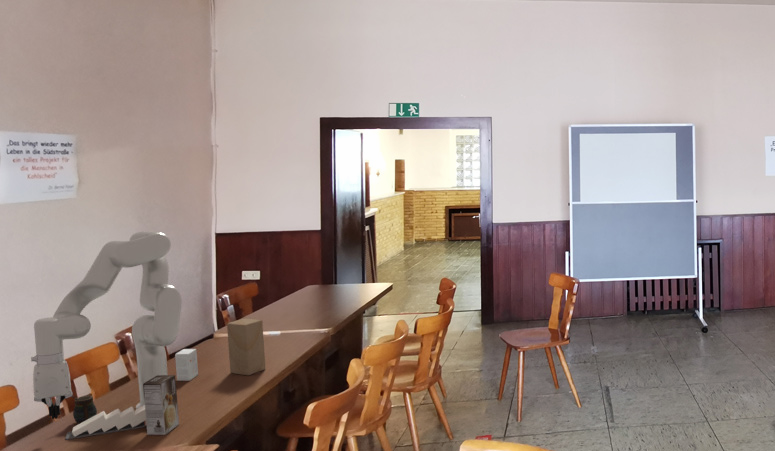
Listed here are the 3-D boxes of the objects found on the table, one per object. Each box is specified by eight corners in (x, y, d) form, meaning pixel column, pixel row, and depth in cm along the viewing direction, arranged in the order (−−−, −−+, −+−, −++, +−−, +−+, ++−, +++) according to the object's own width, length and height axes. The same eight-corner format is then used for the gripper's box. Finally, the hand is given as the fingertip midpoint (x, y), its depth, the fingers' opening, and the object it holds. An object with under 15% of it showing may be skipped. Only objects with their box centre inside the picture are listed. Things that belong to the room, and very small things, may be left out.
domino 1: (73, 427, 225) (103, 410, 227) (75, 431, 225) (106, 414, 228) (71, 432, 220) (103, 415, 223) (74, 436, 220) (105, 419, 223)
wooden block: (248, 375, 279) (244, 325, 278) (229, 373, 284) (226, 323, 283) (266, 369, 287) (262, 319, 286) (247, 366, 293) (244, 318, 291)
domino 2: (88, 424, 226) (118, 408, 229) (90, 429, 226) (120, 412, 229) (87, 430, 221) (118, 413, 224) (89, 434, 222) (120, 417, 224)
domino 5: (129, 418, 230) (159, 402, 233) (132, 422, 231) (161, 406, 233) (129, 423, 226) (159, 406, 228) (132, 427, 226) (162, 410, 229)
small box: (185, 374, 285) (183, 348, 285) (198, 374, 285) (196, 348, 284) (176, 380, 278) (174, 354, 277) (190, 380, 277) (188, 353, 276)
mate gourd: (100, 422, 234) (96, 392, 233) (75, 428, 230) (71, 397, 229) (95, 416, 240) (92, 387, 239) (71, 421, 236) (68, 392, 235)
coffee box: (161, 424, 229) (157, 374, 227) (179, 424, 228) (176, 374, 226) (146, 434, 220) (142, 383, 218) (166, 435, 219) (161, 383, 217)
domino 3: (102, 422, 228) (131, 406, 230) (104, 427, 228) (134, 410, 231) (101, 427, 223) (131, 410, 226) (104, 432, 223) (134, 415, 226)
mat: (67, 433, 225) (67, 432, 225) (144, 421, 232) (144, 420, 232) (65, 439, 219) (65, 438, 219) (145, 427, 227) (145, 426, 227)
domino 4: (116, 420, 229) (145, 404, 232) (118, 424, 229) (147, 408, 232) (115, 425, 224) (145, 408, 227) (118, 429, 224) (148, 413, 227)
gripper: (21, 364, 213) (26, 425, 214) (76, 358, 218) (80, 417, 219) (24, 359, 220) (29, 418, 221) (77, 353, 225) (82, 410, 226)
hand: (55, 417), depth 220 cm, fingers closed
